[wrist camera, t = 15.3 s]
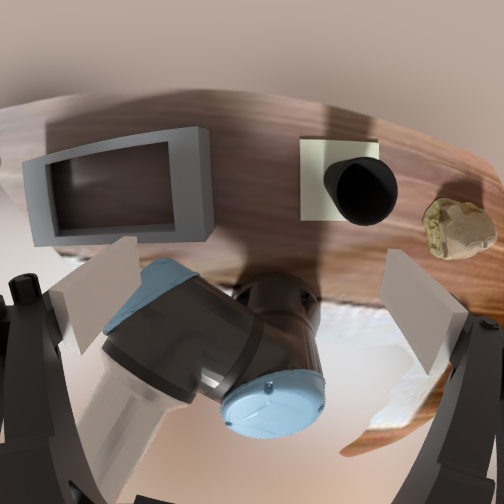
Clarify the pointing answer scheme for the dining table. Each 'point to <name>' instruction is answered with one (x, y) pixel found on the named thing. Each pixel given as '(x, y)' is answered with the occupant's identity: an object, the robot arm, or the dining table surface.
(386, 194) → the cup
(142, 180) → the dining table surface
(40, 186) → the slot box
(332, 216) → the mat
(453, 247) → the ceramic model
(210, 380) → the robot arm
